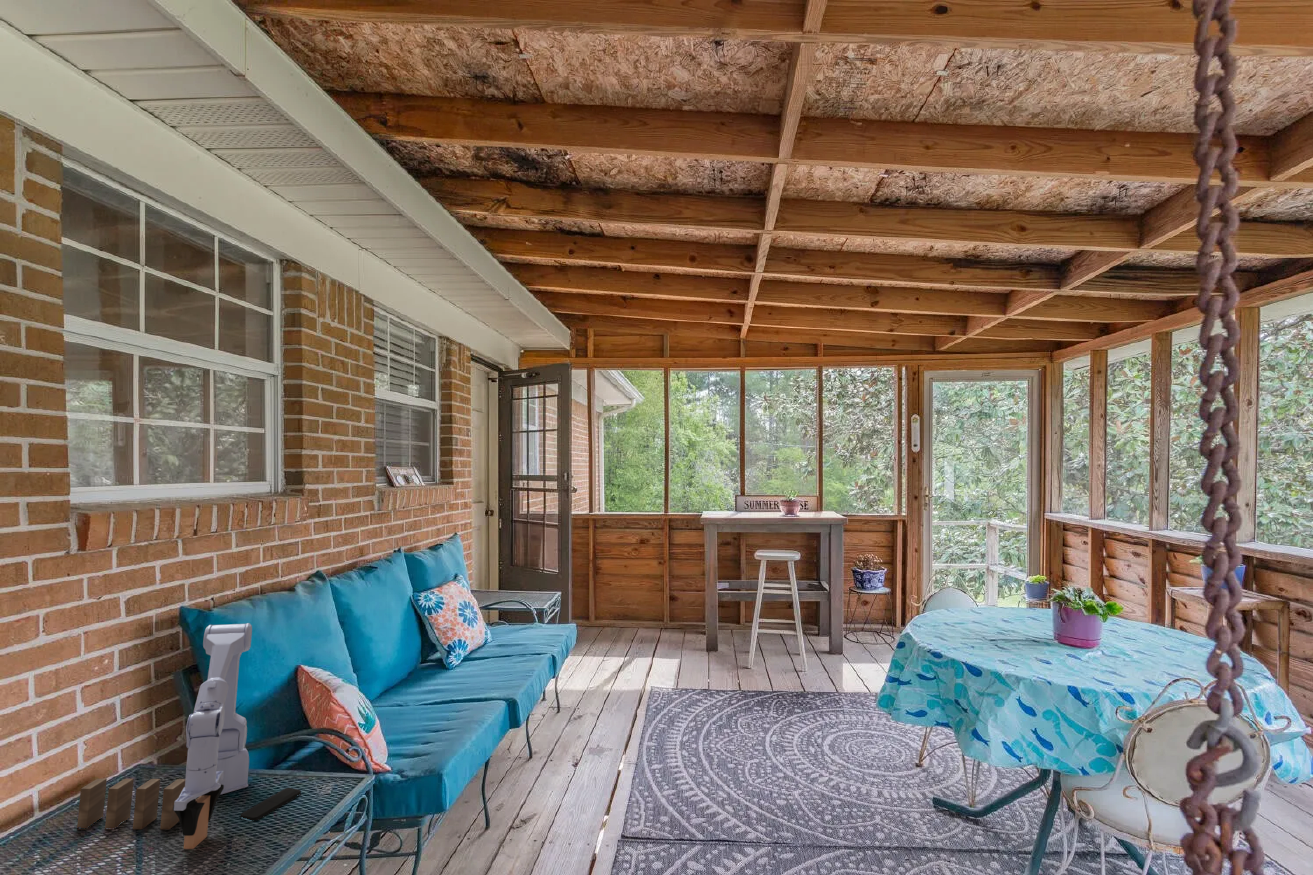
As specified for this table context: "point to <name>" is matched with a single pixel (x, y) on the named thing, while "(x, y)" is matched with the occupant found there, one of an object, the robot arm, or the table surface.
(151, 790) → the domino
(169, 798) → the domino
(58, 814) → the table surface
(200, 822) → the domino
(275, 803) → the remote control
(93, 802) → the domino
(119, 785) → the domino
